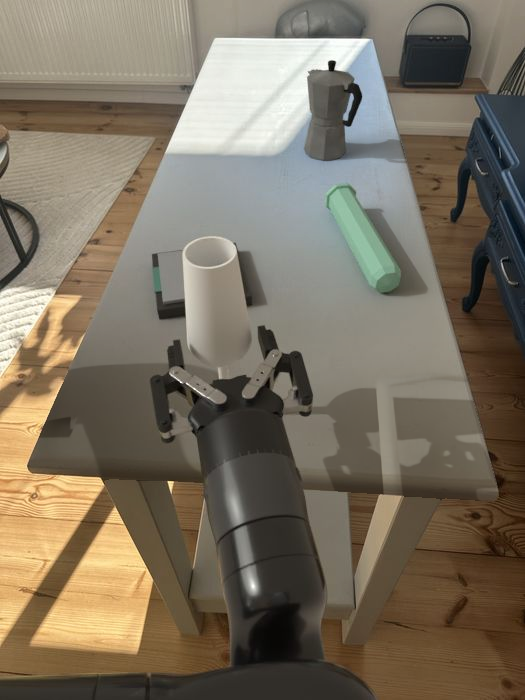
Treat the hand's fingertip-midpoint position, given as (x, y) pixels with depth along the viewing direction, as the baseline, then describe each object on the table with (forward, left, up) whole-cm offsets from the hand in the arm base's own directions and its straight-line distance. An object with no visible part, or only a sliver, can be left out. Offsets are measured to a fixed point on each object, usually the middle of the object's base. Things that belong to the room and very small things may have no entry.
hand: (220, 338), depth 49 cm
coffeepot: (+9, +72, -14) cm, 74 cm away
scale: (-9, +25, -14) cm, 30 cm away
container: (+16, +37, -14) cm, 42 cm away
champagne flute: (0, +1, -14) cm, 14 cm away
